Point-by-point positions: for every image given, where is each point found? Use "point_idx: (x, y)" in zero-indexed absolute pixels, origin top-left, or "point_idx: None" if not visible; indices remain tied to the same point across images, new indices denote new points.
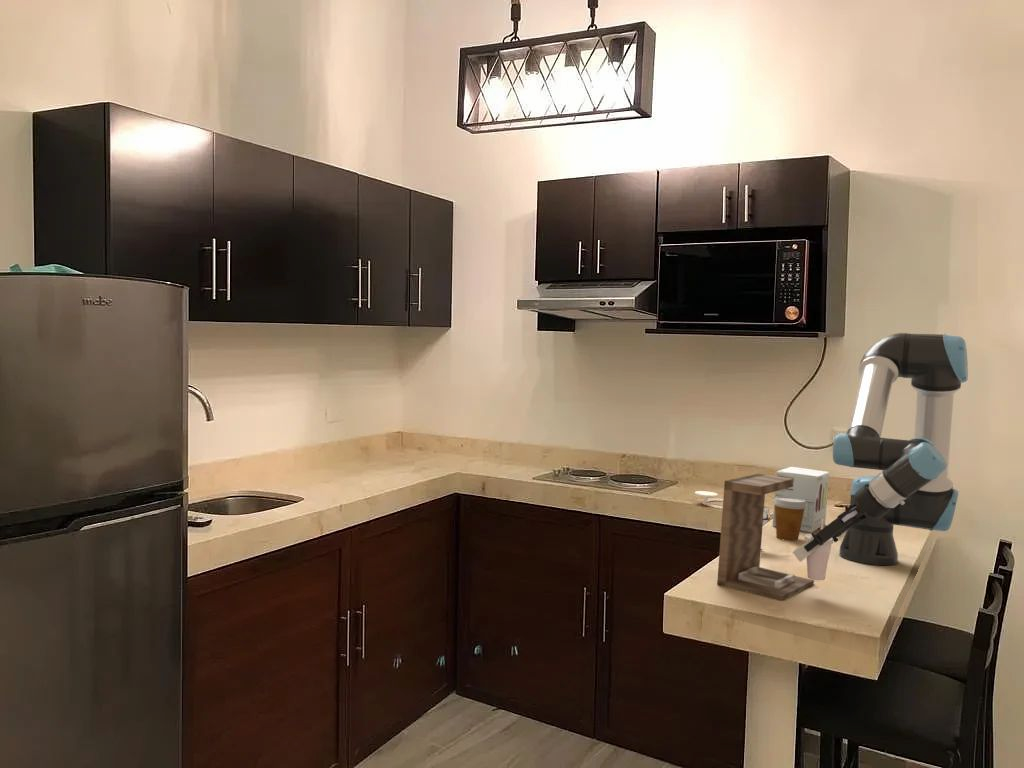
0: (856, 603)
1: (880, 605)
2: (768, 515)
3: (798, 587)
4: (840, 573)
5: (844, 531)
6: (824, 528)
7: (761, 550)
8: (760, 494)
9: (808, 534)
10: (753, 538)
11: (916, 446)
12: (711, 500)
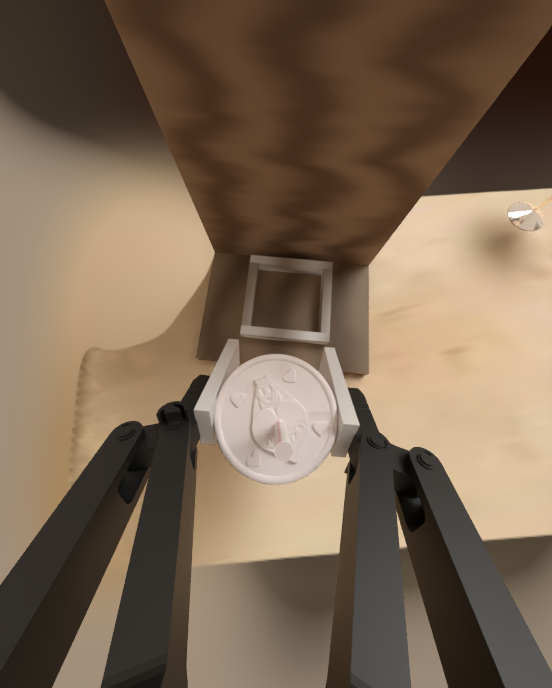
0: (287, 487)
1: (312, 539)
2: None
3: None
4: (504, 398)
5: (405, 537)
6: (52, 521)
7: (526, 226)
8: None
9: (296, 362)
10: (352, 205)
11: None
12: None
